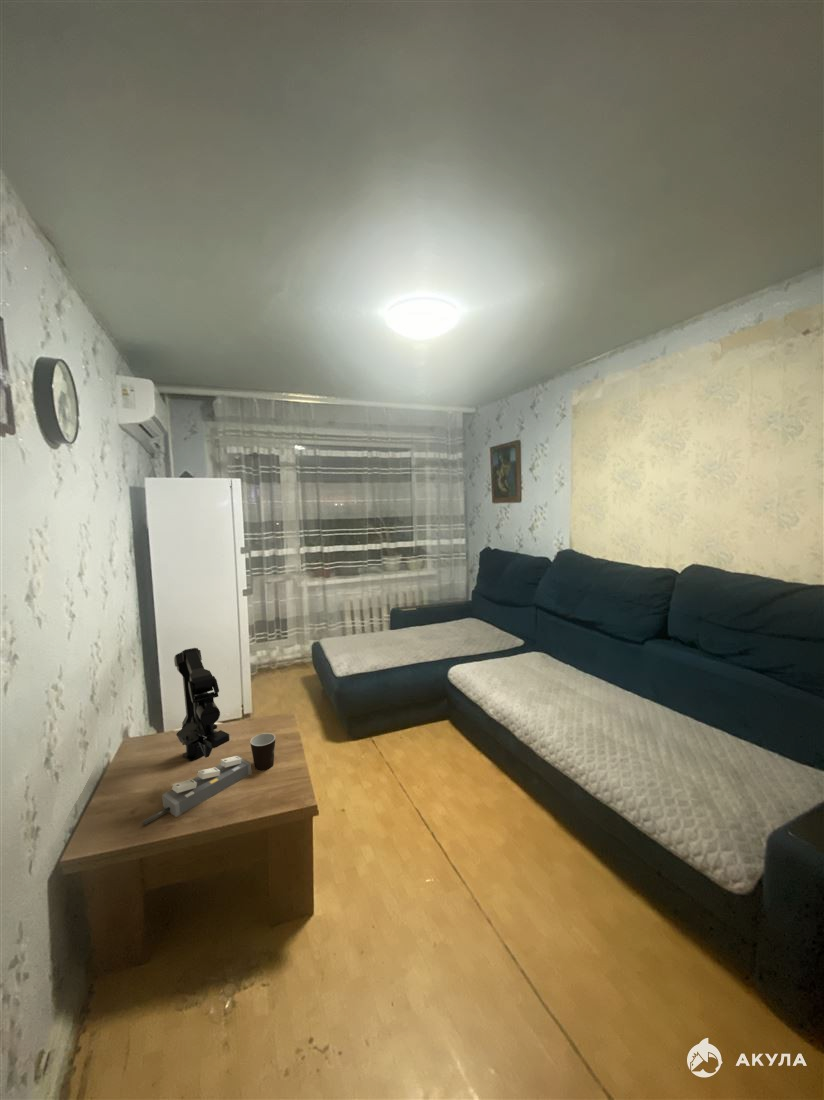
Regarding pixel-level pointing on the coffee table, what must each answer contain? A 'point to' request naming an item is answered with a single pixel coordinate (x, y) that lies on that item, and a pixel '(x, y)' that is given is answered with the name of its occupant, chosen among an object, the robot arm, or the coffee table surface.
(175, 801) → the power strip
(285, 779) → the coffee table surface
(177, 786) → the white rectangular block
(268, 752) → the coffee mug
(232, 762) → the block
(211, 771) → the block
